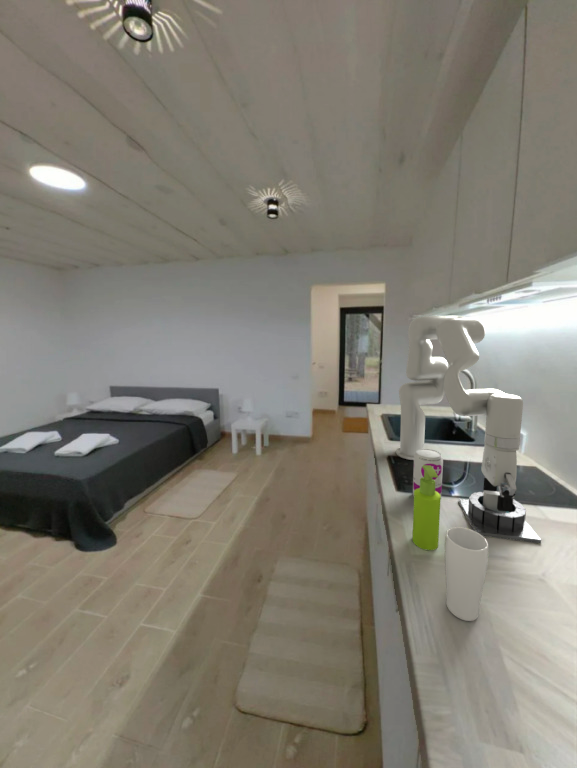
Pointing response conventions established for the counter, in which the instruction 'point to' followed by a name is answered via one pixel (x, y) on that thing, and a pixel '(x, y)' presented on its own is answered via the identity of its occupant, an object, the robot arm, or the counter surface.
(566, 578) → the counter surface
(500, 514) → the segmented ring on plate
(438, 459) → the supplement can
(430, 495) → the soap dispenser
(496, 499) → the cap
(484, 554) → the drinking glass
